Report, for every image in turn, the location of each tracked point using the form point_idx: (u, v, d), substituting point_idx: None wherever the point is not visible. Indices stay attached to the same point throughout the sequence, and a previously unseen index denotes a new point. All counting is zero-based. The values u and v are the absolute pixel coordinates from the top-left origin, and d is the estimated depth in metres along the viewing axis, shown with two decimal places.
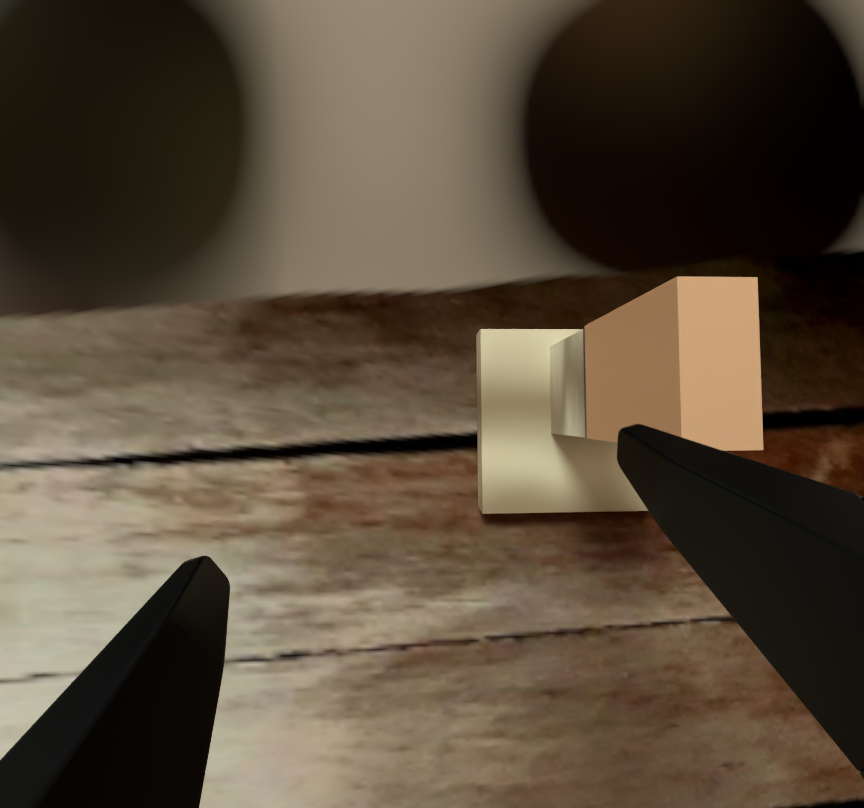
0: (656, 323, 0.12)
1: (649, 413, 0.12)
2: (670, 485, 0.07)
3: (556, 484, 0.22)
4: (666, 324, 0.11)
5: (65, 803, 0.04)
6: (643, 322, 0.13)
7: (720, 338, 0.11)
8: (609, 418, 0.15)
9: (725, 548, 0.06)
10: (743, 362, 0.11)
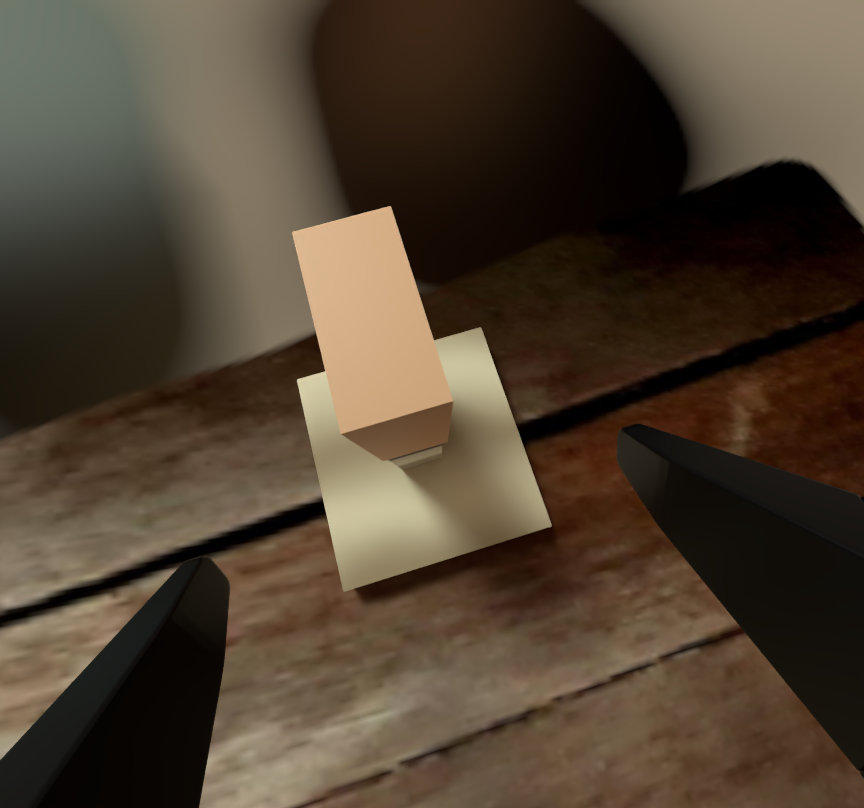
0: None
1: None
2: (670, 485, 0.07)
3: (424, 528, 0.18)
4: None
5: (65, 803, 0.04)
6: None
7: (360, 283, 0.09)
8: None
9: (725, 548, 0.06)
10: (397, 302, 0.08)
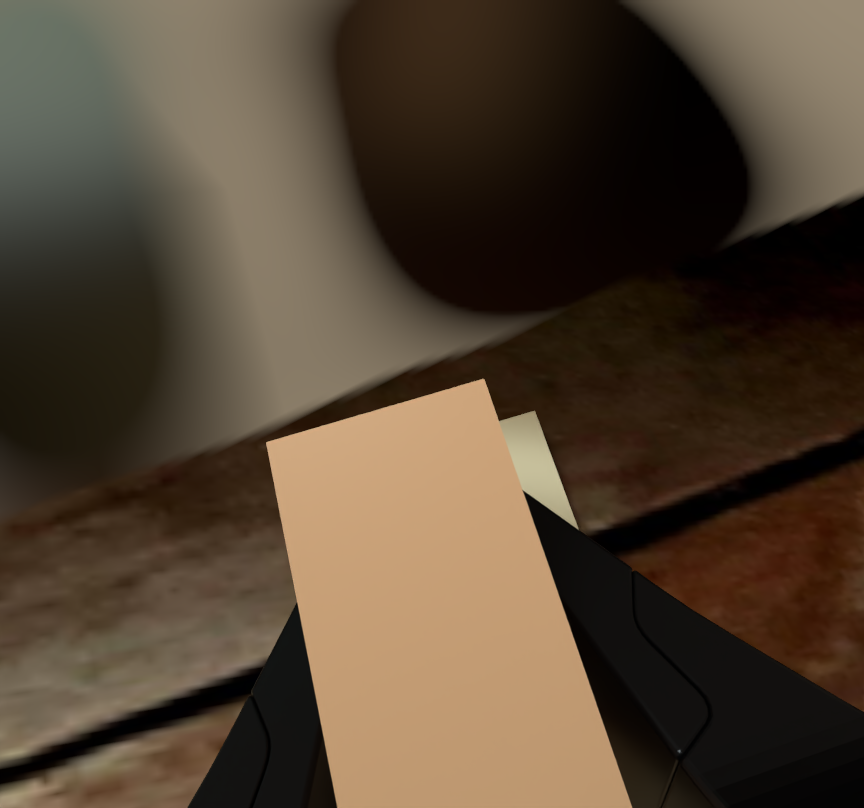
0: None
1: None
2: None
3: None
4: None
5: None
6: None
7: (425, 585, 0.04)
8: None
9: None
10: (517, 641, 0.04)
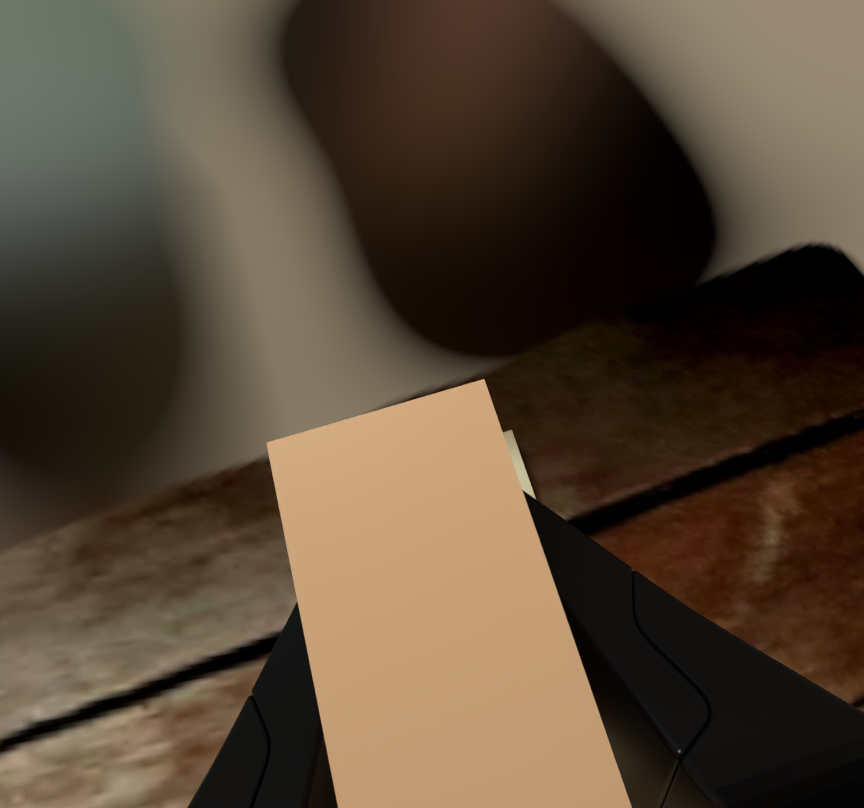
0: None
1: None
2: None
3: None
4: None
5: None
6: None
7: (426, 585, 0.04)
8: None
9: None
10: (518, 641, 0.04)
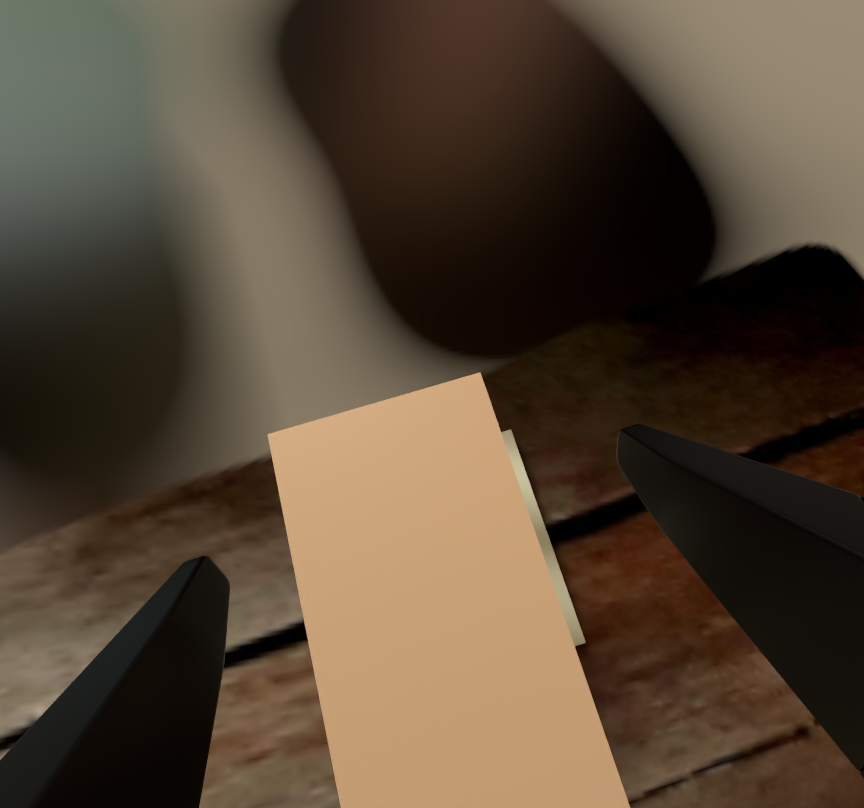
0: None
1: None
2: (670, 485, 0.07)
3: None
4: None
5: (65, 802, 0.04)
6: None
7: (422, 572, 0.04)
8: None
9: (725, 548, 0.06)
10: (512, 627, 0.04)
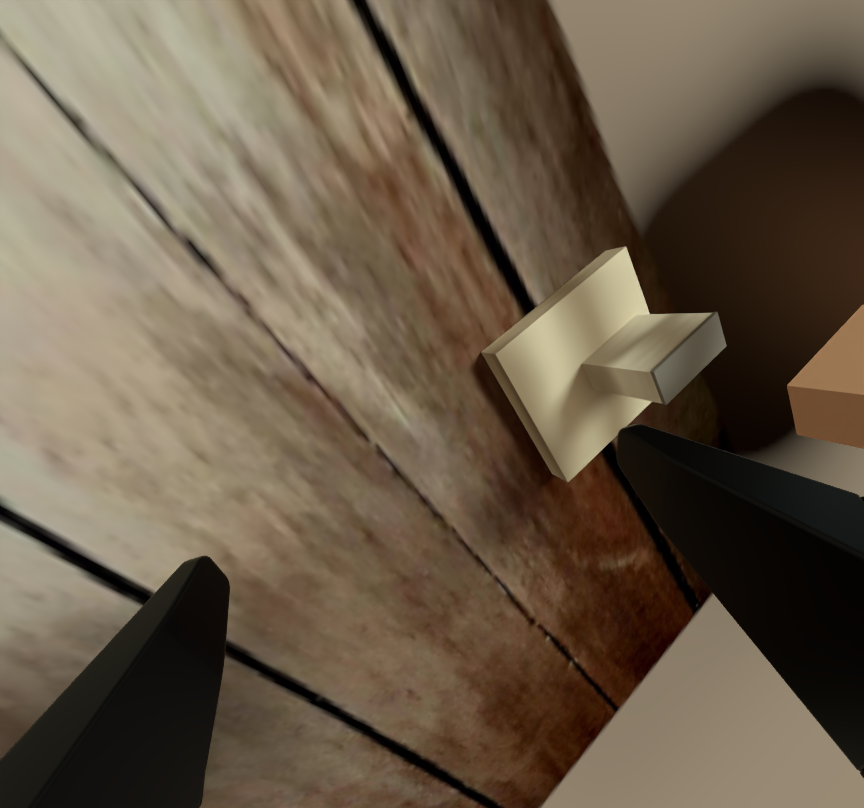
0: None
1: None
2: (670, 485, 0.07)
3: (548, 397, 0.22)
4: None
5: (65, 803, 0.04)
6: None
7: None
8: None
9: (725, 548, 0.06)
10: None
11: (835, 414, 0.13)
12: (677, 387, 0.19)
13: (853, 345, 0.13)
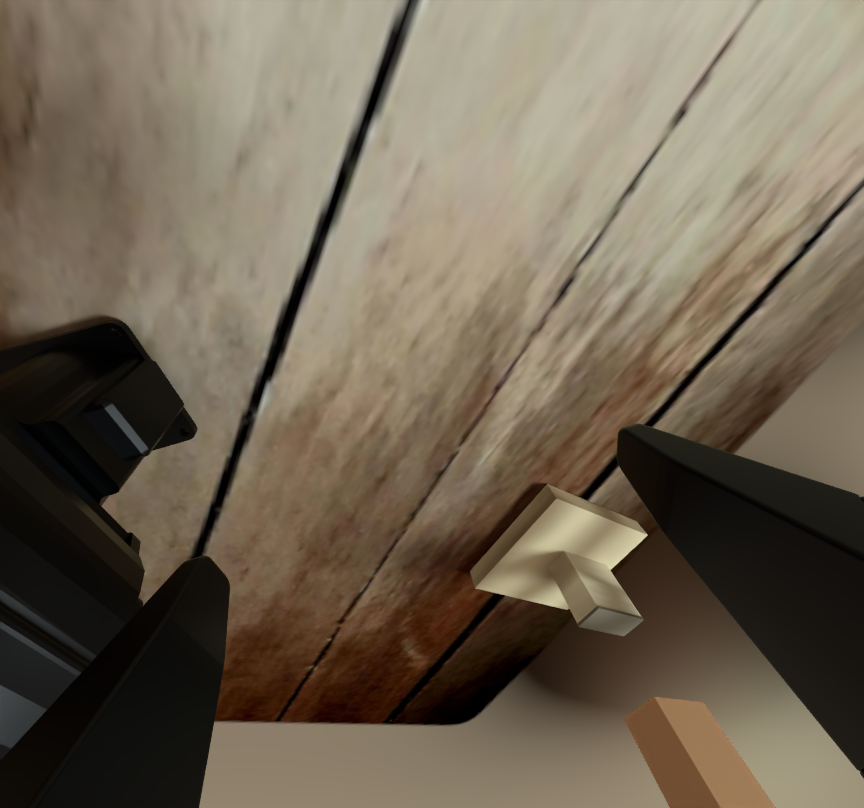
0: None
1: None
2: (670, 485, 0.07)
3: (534, 544, 0.28)
4: None
5: (65, 803, 0.04)
6: (763, 802, 0.19)
7: None
8: (691, 742, 0.20)
9: (725, 548, 0.06)
10: None
11: (655, 732, 0.20)
12: (591, 626, 0.26)
13: (689, 715, 0.21)
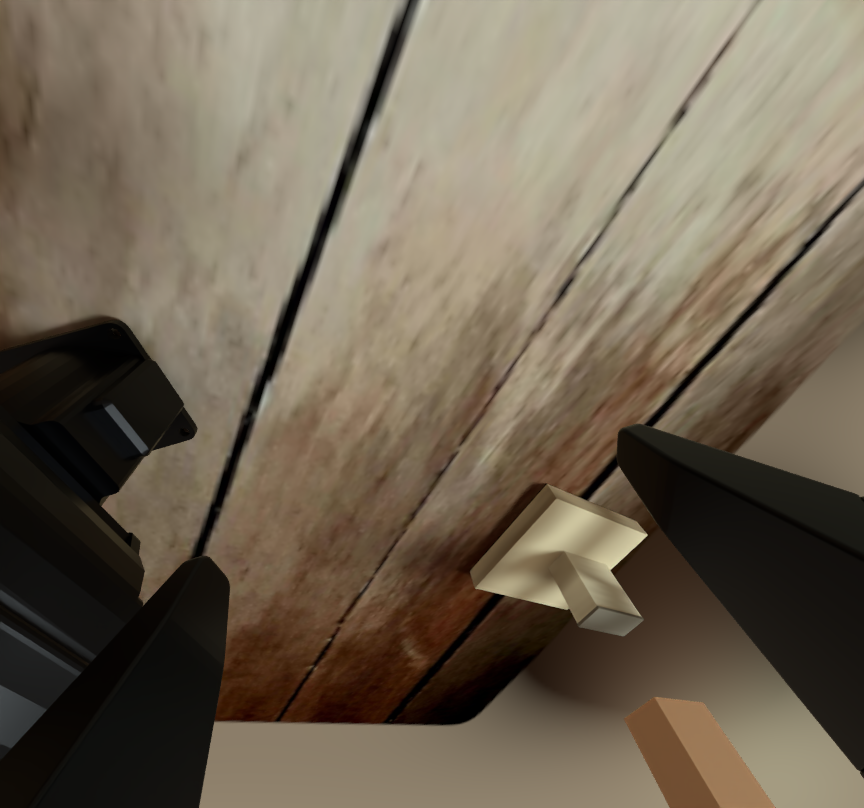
0: None
1: None
2: (670, 485, 0.07)
3: (534, 544, 0.28)
4: None
5: (65, 803, 0.04)
6: (763, 802, 0.19)
7: None
8: (691, 742, 0.20)
9: (725, 548, 0.06)
10: None
11: (655, 732, 0.20)
12: (591, 626, 0.26)
13: (689, 715, 0.21)
